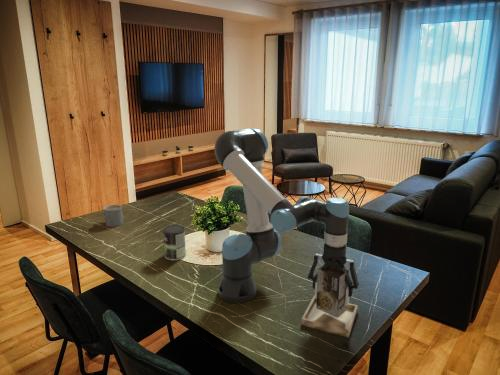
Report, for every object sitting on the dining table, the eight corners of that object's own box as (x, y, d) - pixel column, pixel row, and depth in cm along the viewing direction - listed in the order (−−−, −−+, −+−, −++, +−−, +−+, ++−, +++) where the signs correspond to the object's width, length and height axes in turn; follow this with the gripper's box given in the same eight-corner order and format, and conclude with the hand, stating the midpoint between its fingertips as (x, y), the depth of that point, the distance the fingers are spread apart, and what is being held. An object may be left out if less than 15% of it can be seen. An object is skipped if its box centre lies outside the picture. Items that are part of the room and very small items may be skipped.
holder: (301, 324, 138) (301, 318, 137) (314, 300, 152) (314, 295, 151) (348, 337, 131) (349, 331, 130) (357, 311, 145) (357, 305, 145)
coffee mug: (126, 223, 228) (125, 207, 226) (110, 228, 222) (108, 211, 219) (115, 217, 238) (114, 202, 235) (100, 222, 231) (98, 206, 228)
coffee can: (165, 261, 183) (164, 234, 179) (163, 252, 192) (161, 226, 188) (187, 258, 186) (186, 231, 182) (184, 249, 195) (183, 223, 191)
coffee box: (346, 310, 140) (349, 270, 135) (337, 318, 135) (340, 277, 130) (324, 300, 146) (327, 261, 141) (315, 308, 141) (317, 268, 136)
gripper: (299, 241, 134) (297, 298, 141) (367, 253, 125) (362, 313, 131) (306, 233, 141) (303, 288, 147) (371, 244, 132) (365, 302, 138)
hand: (331, 300), depth 139 cm, fingers closed on coffee box, 10 cm apart
